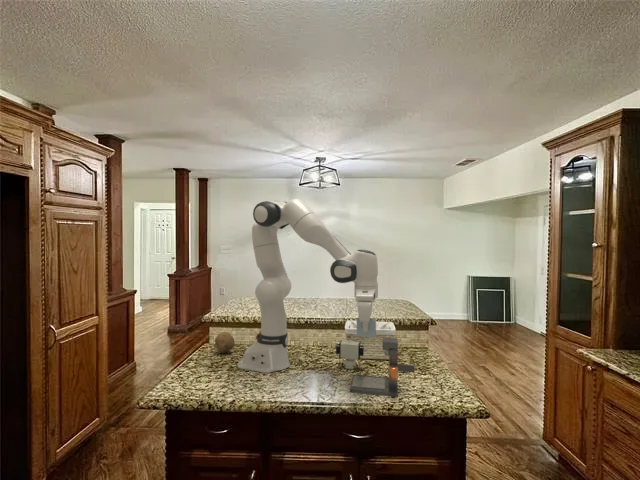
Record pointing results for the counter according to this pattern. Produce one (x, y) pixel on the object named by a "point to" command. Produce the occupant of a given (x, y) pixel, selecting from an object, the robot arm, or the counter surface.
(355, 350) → the pneumatic valve
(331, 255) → the robot arm
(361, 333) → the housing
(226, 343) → the natural sponge
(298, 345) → the counter surface
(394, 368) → the lever
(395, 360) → the press
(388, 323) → the storage basket
